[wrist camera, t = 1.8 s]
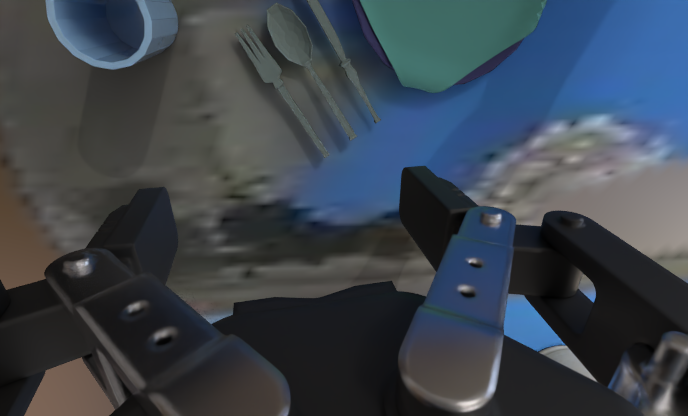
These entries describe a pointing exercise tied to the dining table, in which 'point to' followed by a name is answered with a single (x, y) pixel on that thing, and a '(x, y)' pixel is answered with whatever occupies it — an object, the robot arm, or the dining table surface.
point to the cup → (113, 29)
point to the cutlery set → (404, 43)
